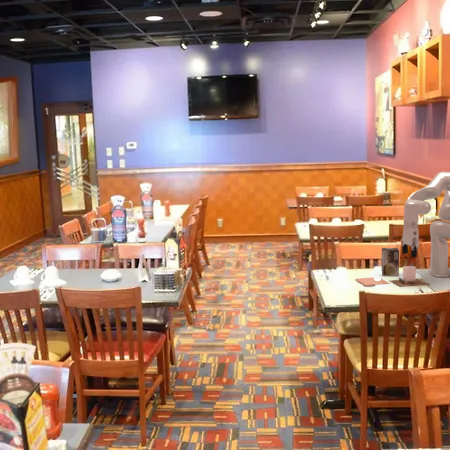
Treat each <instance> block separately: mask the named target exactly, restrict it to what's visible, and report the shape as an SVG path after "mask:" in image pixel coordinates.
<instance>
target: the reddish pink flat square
mask: <svg viewBox="0 0 450 450" xmlns="http://www.w3.org/2000/svg"><path fill="white" fill-rule="evenodd" d="M354 280H355V281H356V282H357V283H359V284H360V285H362V286H364V287H365V288H369V287H376V286H377V285H389V284H390V283H391V282H389V281H386V280H385V279H383V278H381V280H380V281H375V280H374V278H373V276H372V277H362V278H361V277H360V278H359V277H358V278H355V279H354Z"/></svg>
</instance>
